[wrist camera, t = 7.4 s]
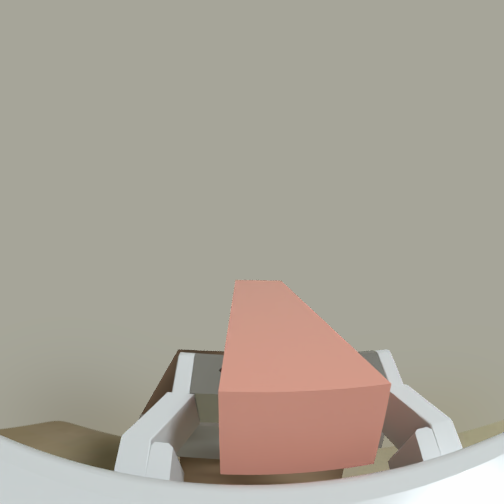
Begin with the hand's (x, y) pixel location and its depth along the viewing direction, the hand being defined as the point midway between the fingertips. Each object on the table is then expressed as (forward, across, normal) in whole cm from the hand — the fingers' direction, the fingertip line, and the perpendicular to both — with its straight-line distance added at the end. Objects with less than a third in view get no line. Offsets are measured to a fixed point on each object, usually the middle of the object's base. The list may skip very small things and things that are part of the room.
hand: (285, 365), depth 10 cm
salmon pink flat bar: (+5, 0, +5) cm, 7 cm away
